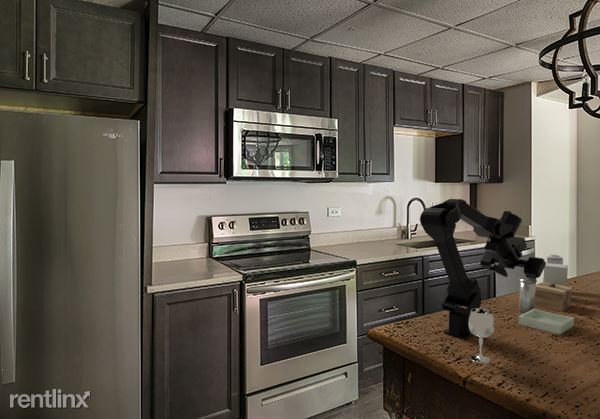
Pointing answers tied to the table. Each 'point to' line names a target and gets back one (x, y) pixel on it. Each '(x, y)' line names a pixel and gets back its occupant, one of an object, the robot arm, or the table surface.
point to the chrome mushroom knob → (527, 295)
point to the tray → (546, 321)
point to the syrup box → (553, 259)
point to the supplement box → (555, 274)
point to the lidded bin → (553, 296)
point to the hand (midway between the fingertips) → (520, 278)
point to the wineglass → (481, 329)
